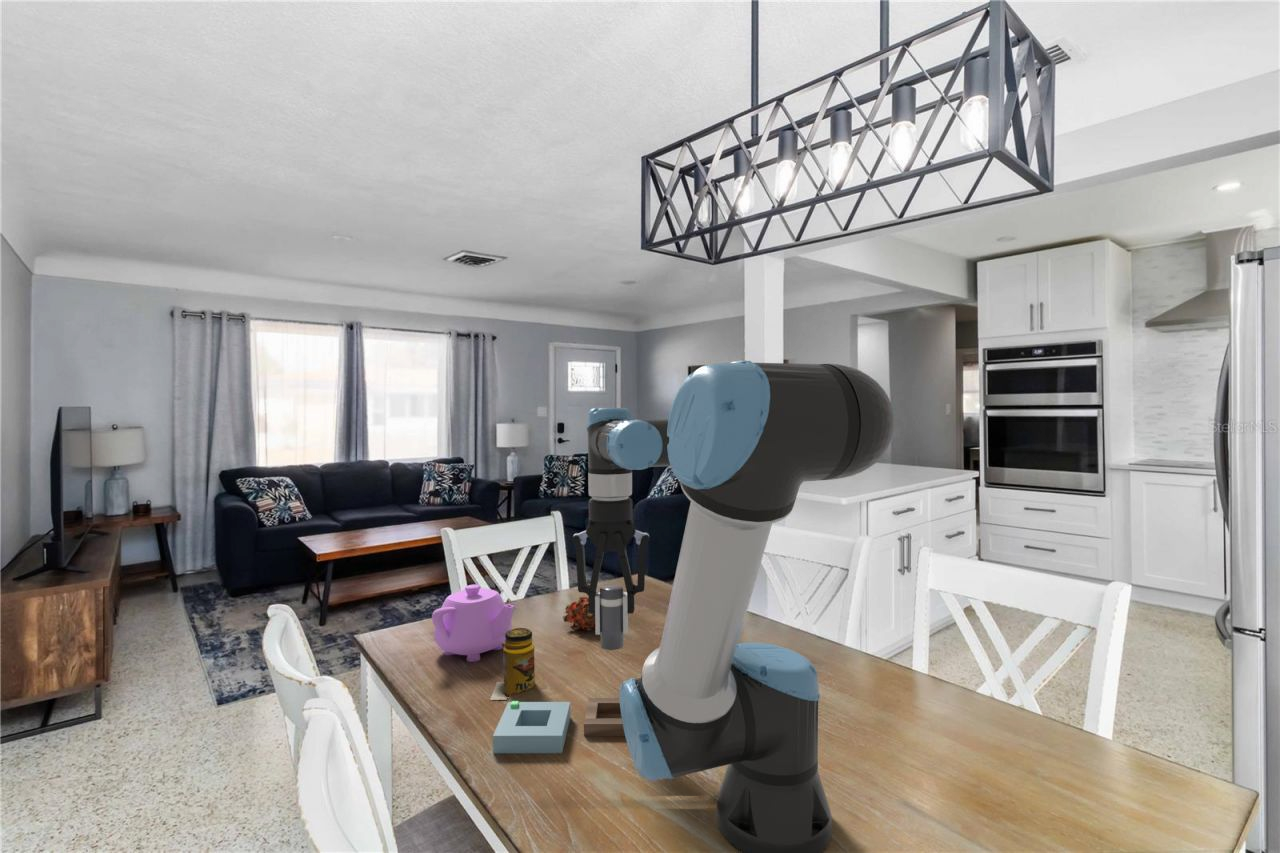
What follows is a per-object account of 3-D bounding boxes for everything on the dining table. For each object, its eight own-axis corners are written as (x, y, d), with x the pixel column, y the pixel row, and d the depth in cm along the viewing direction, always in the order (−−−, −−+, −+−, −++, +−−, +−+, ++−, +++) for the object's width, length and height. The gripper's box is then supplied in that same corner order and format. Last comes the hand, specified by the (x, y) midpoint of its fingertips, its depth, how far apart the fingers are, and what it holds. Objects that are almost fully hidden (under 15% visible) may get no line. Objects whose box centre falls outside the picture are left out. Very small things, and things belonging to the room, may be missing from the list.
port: (562, 760, 97) (561, 731, 97) (493, 760, 97) (492, 732, 97) (570, 724, 108) (570, 698, 108) (508, 724, 108) (508, 698, 108)
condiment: (534, 699, 117) (533, 638, 117) (489, 701, 117) (488, 639, 117) (538, 682, 125) (538, 624, 124) (497, 683, 124) (496, 625, 124)
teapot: (475, 681, 125) (474, 608, 125) (409, 661, 135) (407, 594, 135) (537, 647, 142) (536, 583, 142) (474, 632, 152) (473, 572, 152)
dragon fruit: (599, 641, 150) (568, 636, 158) (617, 614, 155) (585, 610, 163) (581, 619, 146) (549, 615, 154) (599, 591, 152) (568, 588, 160)
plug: (623, 650, 104) (622, 591, 104) (599, 650, 104) (598, 591, 104) (624, 640, 108) (623, 584, 108) (601, 641, 108) (600, 585, 108)
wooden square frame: (637, 742, 102) (637, 723, 102) (584, 742, 102) (583, 724, 102) (638, 715, 111) (638, 697, 111) (588, 715, 111) (588, 698, 111)
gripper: (659, 493, 109) (660, 623, 109) (563, 494, 109) (565, 624, 110) (660, 499, 101) (661, 639, 102) (557, 500, 101) (559, 640, 102)
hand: (612, 631), depth 106 cm, fingers closed on plug, 4 cm apart
